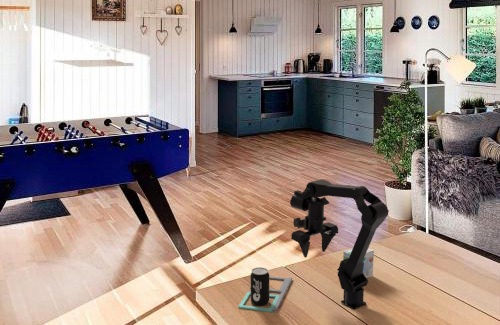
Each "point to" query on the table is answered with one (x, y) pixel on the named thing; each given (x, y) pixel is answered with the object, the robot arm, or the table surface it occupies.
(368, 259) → the light bulb box
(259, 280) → the beverage can
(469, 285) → the table surface
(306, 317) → the table surface
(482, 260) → the table surface
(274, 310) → the strip
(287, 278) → the grey square frame
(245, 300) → the teal square frame
